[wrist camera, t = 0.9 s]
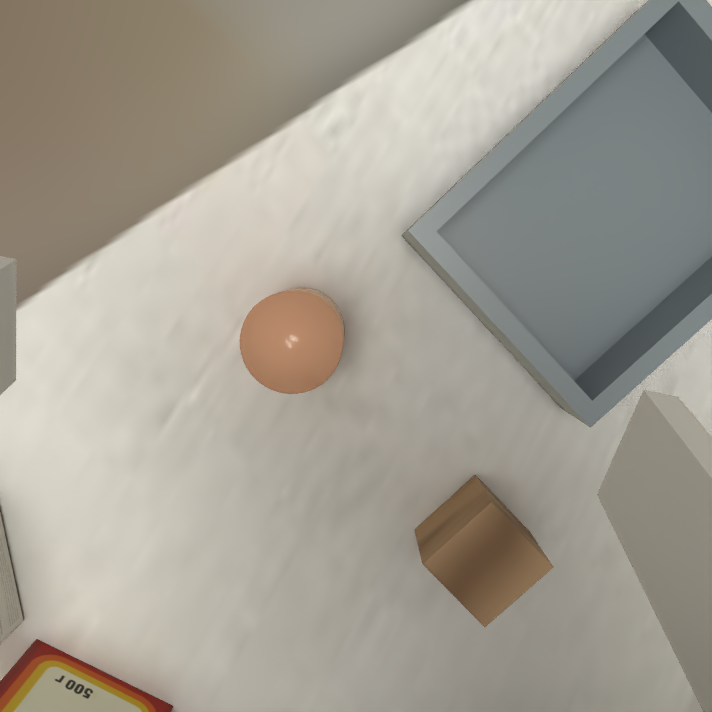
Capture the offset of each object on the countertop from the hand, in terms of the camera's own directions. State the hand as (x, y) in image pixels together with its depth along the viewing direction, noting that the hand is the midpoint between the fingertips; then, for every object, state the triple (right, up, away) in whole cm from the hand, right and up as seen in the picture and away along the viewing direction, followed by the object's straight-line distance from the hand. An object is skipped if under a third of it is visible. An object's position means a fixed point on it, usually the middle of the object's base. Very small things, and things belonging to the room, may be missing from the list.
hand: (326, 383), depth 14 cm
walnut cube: (+8, -10, +27) cm, 30 cm away
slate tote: (+15, +9, +25) cm, 30 cm away
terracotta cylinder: (-3, +2, +26) cm, 26 cm away
